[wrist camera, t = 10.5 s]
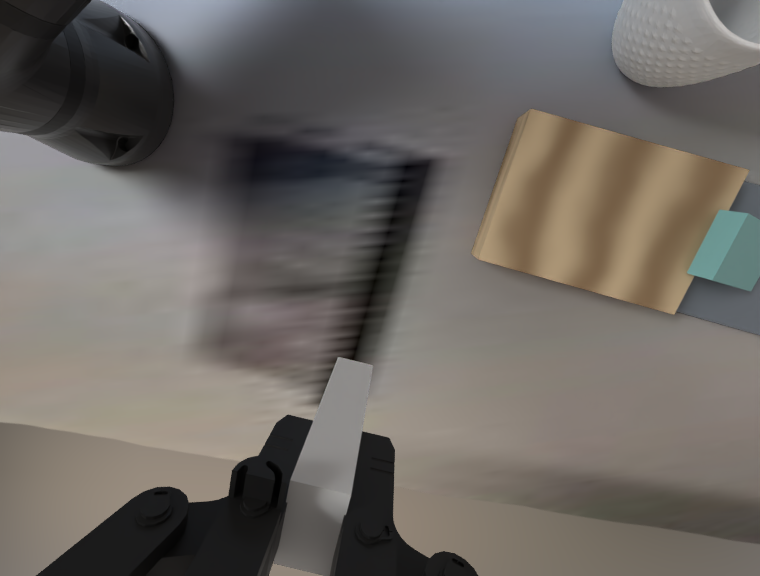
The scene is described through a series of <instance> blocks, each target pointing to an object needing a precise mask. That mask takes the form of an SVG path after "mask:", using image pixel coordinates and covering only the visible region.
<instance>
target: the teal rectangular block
mask: <svg viewBox="0 0 760 576" xmlns="http://www.w3.org/2000/svg"><path fill="white" fill-rule="evenodd" d="M687 273H688V274H691V275H694V276H698V277H701V278H705V279H708V280H712V281H715V282H718V283H722V284H725V285H729V286H732V287H736V288H740V289H743V290H747V291H752V289H753V287H754V285H755V284H756V282H757V280H758V278H759V277H760V220H759V219H757V218H756V217H754V216H752V215H750V214H749V213H742V212H734V211H726V210H719V211H718V213H717V215H716V217H715V219H714V221H713V223H712V225H711V227H710V229H709V231H708V233H707V235H706V237H705V238H704V240H703V242H702V244H701V246H700V248H699V250H698V252H697V254H696V256H695V258H694V260H693V262H692V264H691V266H690V268H689V270H688V271H687Z"/></svg>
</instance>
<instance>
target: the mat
mask: <svg viewBox="0 0 760 576" xmlns="http://www.w3.org/2000/svg"><path fill="white" fill-rule="evenodd" d="M729 211H734V212H742V213H749V214H750V215H752V216H754V217H756V218H757V219H759V220H760V185H756V184H753V183H749V182H746V181H744V182H743V184H742V186H741V188H740V190H739V192H738V194H737V195H736V197H735V199H734V201H733V203H732V205H731V207H730V209H729ZM676 312H679V313H683V314H686V315H690V316H694V317H697V318H701V319H704V320H708V321H711V322H715V323H718V324H722V325H725V326H729V327H733V328H736V329H740V330H743V331H747V332H750V333H754V334H757V335H760V277H759V278H758V280H757V282H756V284H755V285H754V287H753V289H752V291H747V290H743V289H740V288H736V287H732V286H729V285H725V284H722V283H718V282H715V281H712V280H708V279H705V278H701V277H698V276H694V278H693V280H692V282H691V284H690V286H689V287H688V289H687V291H686V293H685V295H684V297H683V299H682V301H681V303H680V305H679V307H678V309H677V310H676Z"/></svg>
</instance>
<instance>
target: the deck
mask: <svg viewBox="0 0 760 576" xmlns="http://www.w3.org/2000/svg"><path fill="white" fill-rule="evenodd" d="M749 171H750V170H748V169H744V168H741V167H737V166H733V165H730V164H726V163H723V162H719V161H716V160H712V159H709V158H705V157H701V156H698V155H694V154H691V153H687V152H684V151H680V150H677V149H673V148H669V147H666V146H662V145H659V144H655V143H652V142H648V141H645V140H641V139H637V138H634V137H630V136H627V135H623V134H620V133H616V132H613V131H609V130H605V129H602V128H598V127H595V126H591V125H588V124H584V123H581V122H577V121H573V120H570V119H566V118H563V117H559V116H556V115H552V114H549V113H545V112H541V111H538V110H534V109H530V110H529V111H527V112H526V113H524V114H523V115H522V116H520V117H519V118H517V121H516V124H515V127H514V130H513V133H512V136H511V139H510V141H509V144H508V147H507V150H506V153H505V156H504V159H503V162H502V165H501V168H500V171H499V173H498V176H497V179H496V182H495V185H494V188H493V191H492V194H491V197H490V200H489V203H488V206H487V208H486V211H485V214H484V217H483V220H482V223H481V226H480V229H479V232H478V235H477V238H476V240H475V243H474V246H473V249H472V252H471V254H472V255H474V256H475V257H476V258H477V259H478V260H482V261H485V262H489V263H492V264H496V265H499V266H503V267H507V268H510V269H514V270H517V271H521V272H524V273H528V274H531V275H535V276H538V277H542V278H546V279H549V280H553V281H556V282H560V283H563V284H567V285H570V286H574V287H577V288H581V289H585V290H588V291H592V292H595V293H599V294H602V295H606V296H609V297H613V298H616V299H620V300H624V301H627V302H631V303H634V304H638V305H641V306H645V307H648V308H652V309H655V310H659V311H663V312H666V313H670V314H673V315H674V314H675V312H676V310H677V309H678V307H679V305H680V303H681V301H682V299H683V297H684V295H685V293H686V291H687V289H688V287H689V286H690V284H691V282H692V280H693V278H694V275H691V274H688V273H687V271H688V270H689V268H690V266H691V264H692V262H693V260H694V258H695V256H696V254H697V252H698V250H699V248H700V246H701V244H702V242H703V240H704V238H705V237H706V235H707V233H708V231H709V229H710V227H711V225H712V223H713V221H714V219H715V217H716V215H717V213H718V211H719V210H726V211H729V209H730V207H731V205H732V203H733V201H734V199H735V197H736V195H737V194H738V192H739V190H740V188H741V186H742V184H743V182H744V180H745V178H746V176H747V174H748V172H749Z"/></svg>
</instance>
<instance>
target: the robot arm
mask: <svg viewBox="0 0 760 576" xmlns="http://www.w3.org/2000/svg"><path fill="white" fill-rule="evenodd" d="M172 113H173V87H172V81H171V77H170V73H169V70H168V67H167V65H166V62H165V60H164V58H163V55H162V54H161V52H160V50H159V48H158V47H157V45H156V44H155V42H154V41H153V39H152V38H151V37H150V36H149V35H148V33H147V32H146V31H145V30H144V29H143V28H142V27H141V26H140V25H138V24H137V23H136V22H135V21H133V20H132V19H131V18H129V17H128V16H126V15H124V14H123V13H121V12H120V11H118V10H117V9H115V8H114V7H112V6H110V5H108V4H106V3H104V2H102V1H100V0H0V131H4V132H12V133H18V134H23V135H27V136H29V137H31V138H33V139H35V140H37V141H40V142H42V143H44V144H46V145H48V146H50V147H52V148H54V149H56V150H58V151H60V152H62V153H64V154H66V155H68V156H70V157H72V158H75V159H78V160H81V161H84V162H88V163H93V164H101V165H110V166H123V165H129V164H133V163H135V162H138V161H140V160H142V159H144V158H146V157H147V156H148V155H150V154H151V153H152V152H153V151H154V150H155V149H156V148H157V147H158V146H159V145H160V143H161V142H162V140H163V139H164V137H165V135H166V133H167V131H168V128H169V126H170V122H171V118H172ZM372 369H373V365H369V364H365V363H361V362H357V361H353V360H349V359H344V358H340V357H338V359H337V362H336V364H335V367H334V369H333V372H332V374H331V377H330V380H329V382H328V385H327V387H326V390H325V392H324V395H323V397H322V400H321V403H320V405H319V408H318V410H317V413H316V415H315V418H314V420H313V421H312V420H308V419H304V418H300V417H296V416H291V415H286V416H285V417H284V418H282V419H281V420H280V421H278V422H277V423H276V425H275V426H274V428H273V430H272V432H271V434H270V436H269V437H268V439H267V441H266V443H265V446H264V447H263V448H262V450H261V452H260V454H259V456H255V457H250V458H247V459H245V460H243V461H241V462H240V463H238V464H237V466H236V467H235V468H234V469H233V470H232V475H231V482H230V489H229V496H227V497H225V498H222V499H219V500H214V501H208V502H194V503H193V502H192V503H189V502H188V499H187V496H186V495H185V494H184V493H183V492H182V491H181V490H179V489H176V488H172V487H157V488H153V489H150V490H147V491H145V492H143V493H141V494H139V495H138V496H136V497H134V498H133V499H131V500H130V501H129V502H128V503H126V504H125V505H124V506H123V507H122V508H120V509H119V510H118V511H116V512H115V513H114V514H113V515H111V516H110V517H109V518H108V519H106V520H105V521H104V522H103V523H101V524H100V525H99V526H98V527H96V528H95V529H94V530H93V531H91V532H90V533H89V534H88V535H86V536H85V537H84V538H83V539H81V540H80V541H79V542H78V543H76V544H75V545H74V546H73V547H71V548H70V549H69V550H68V551H66V552H65V553H64V554H63V555H61V556H60V557H59V558H58V559H56V561H54V562H53V563H52V564H50V565H49V566H48V567H46V568H45V569H44V570H43V571H41V572H40V573H39V574H38V575H36V576H269V572H270V570H271V567H272V564H273V561H274V564H277V565H282V566H286V567H290V568H294V569H299V570H303V571H307V572H311V573H315V574H319V575H323V576H478V575H477V573H476V571H475V570H474V568H473V567H472V566H471V565H470V564H469V563H468V562H467V561H466V560H465V559H463V558H462V557H460V556H458V555H456V554H455V553H450V552H445V551H443V552H439V553H435V554H434V555H433V556H432V557H431V558H428V557H426V556H425V555H423V554H421V553H420V552H418V551H416V550H414V549H413V548H412V547H410V546H409V545H408V544H407V543H406V542H405V541H404V540H403V539H402V538H401V537H400V535H399V534H398V532H397V530H396V528H395V525H394V521H393V495H394V494H393V493H394V462H395V449H394V447H393V445H392V443H391V441H390V439H389V438H388V437H384V436H379V435H375V434H371V433H367V432H363V431H362V428H363V422H364V417H365V411H366V405H367V399H368V393H369V387H370V381H371V375H372ZM274 558H275V559H274Z"/></svg>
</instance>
